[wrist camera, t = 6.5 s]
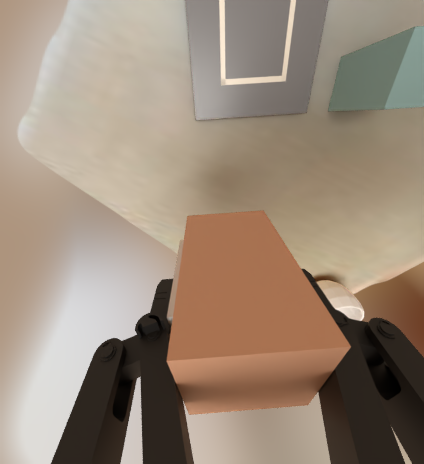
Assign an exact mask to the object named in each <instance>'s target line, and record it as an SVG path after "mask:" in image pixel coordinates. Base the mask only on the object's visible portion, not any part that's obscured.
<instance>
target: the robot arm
mask: <svg viewBox="0 0 424 464" xmlns="http://www.w3.org/2000/svg"><path fill="white" fill-rule="evenodd" d="M183 244H184V240H180V244H179V250H178V255H177V261H176V267H175V273H174V278H173V279H165V280H161V282H160V283H159V284H158V286H157V289H156V293H155V297H154V300H153V304H152V308H151V312H150V313H148V314H146V315H144V316H143V317H142V318H140V319H139V320H138V322H137V324H136V327H135V331H136V333H137V335H135V336H133V337H131V338H128V339H126V340H123V341H121V340H119V339H117V338H112V339H109V340H107V341H105V342H104V343H102V344H101V345H100V346H99V347H98V349H97V350H96V352H95V354H94V356H93V358H92V361H91V363H90V366H89V368H88V371H87V374H86V376H85V379H84V381H83V384H82V386H81V389H80V391H79V394H78V396H77V399H76V401H75V404H74V407H73V409H72V412H71V414H70V417H69V419H68V422H67V425H66V427H65V429H64V432H63V435H62V437H61V440H60V442H59V445H58V448H57V450H56V452H55V455H54V457H53V460H52V463H51V464H120V462H121V457H122V452H123V447H124V442H125V437H126V431H127V426H128V421H129V416H130V411H131V405H132V400H133V395H134V390H135V385H136V380H137V378H138V377H140V376H141V408H142V444H143V464H194V461H193V456H192V450H191V444H190V439H189V433H188V428H187V422H186V416H185V410H184V404H183V399H182V396H181V394H180V391H179V389H178V387H177V384H176V382H175V380H174V377H173V375H172V373H171V370H170V368H169V366H168V363H167V355H168V348H169V341H170V334H171V327H172V320H173V313H174V306H175V299H176V292H177V285H178V278H179V271H180V264H181V257H182V250H183ZM301 270H302V271H303V273H304V274H305V276H306V277H307V279H308V281H309V282H310V284H311V285H312V287H313V288H314V290H315V291H316V293H317V295H318V296H319V298H320V299H321V301H322V302H323V304H324V305H325V307H326V309H327V310H328V312H329V313H330V315H331V316H332V318H333V319H334V321H335V323H336V324H337V326H338V327H339V329H340V330H341V332H342V333H343V335H344V336H345V338H346V340H347V341H348V343H349V344H350V346H351V348H350V349H349V350H348V352H347V353H346V354H345V356H344V357H343V358H342V360H341V361H340V362H339V364H338V365H337V367H336V368H335V369H334V371H333V372H332V373H331V375H330V376H329V377H328V379H327V380H326V381H325V383H324V384H323V385H322V387H321V388H320V390H319V391H318V392H319V398H320V403H321V409H322V415H323V421H324V426H325V432H326V438H327V444H328V450H329V455H330V461H331V464H405V462H404V459H403V456H402V454H401V451H400V449H399V446H398V443H397V441H396V438H395V436H394V433H393V430H394V432H395V434H396V435H397V437H398V439H399V441H400V443H401V444H402V446H403V448H404V449H405V451H406V453H407V454H408V457H409V458H410V460H411V462H412V464H424V358H423V356H422V355H421V354H420V353H419V352H418V350H417V349H416V348H415V347H414V346H413V345H412V343H411V342H410V341H409V340H408V339H407V338H406V336H405V335H404V334H403V333H402V332H401V330H399V329H398V328H397V327H396V326H395V325H394V324H392V323H390V322H389V321H387V320H384V319H382V318H373V319H371V320H370V321H369V322H363V321H359V320H354V319H350V318H348V317H347V316H346V315H345V314H344V313H342V312H340V311H339V310H336V309H335V308H334V307H333V306H332V304H331V303H330V301H329V300H328V298H327V297H326V296H325V294H324V293H323V291H322V290H321V288H320V287H319V285H318V284H317V282H315V279H314V278H313V277H312V275H311V274H310V273H309V272H307V271H306V270H305V269H301ZM391 427H392V428H393V430H392V428H391Z"/></svg>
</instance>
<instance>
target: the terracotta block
mask: <svg viewBox="0 0 424 464" xmlns="http://www.w3.org/2000/svg"><path fill="white" fill-rule="evenodd" d="M350 348H351V346H350V344H349V343H348V341H347V340H346V338H345V336H344V335H343V333H342V332H341V330H340V329H339V327H338V326H337V324H336V323H335V321H334V319H333V318H332V316H331V315H330V313H329V312H328V310H327V309H326V307H325V305H324V304H323V302H322V301H321V299H320V298H319V296H318V295H317V293H316V291H315V290H314V288H313V287H312V285H311V284H310V282H309V281H308V279H307V277H306V276H305V274H304V273H303V271H302V270H301V268H300V267H299V265H298V263H297V262H296V260H295V259H294V257H293V256H292V254H291V253H290V251H289V249H288V248H287V246H286V245H285V243H284V242H283V240H282V239H281V237H280V236H279V234H278V232H277V231H276V229H275V228H274V226H273V225H272V223H271V222H270V220H269V218H268V217H267V215H266V214H265V212H264V211H250V212H236V213H222V214H207V215H193V216H187V223H186V230H185V237H184V244H183V250H182V257H181V264H180V271H179V278H178V285H177V292H176V299H175V306H174V313H173V320H172V327H171V334H170V341H169V348H168V355H167V363H168V366H169V368H170V370H171V373H172V375H173V377H174V380H175V382H176V384H177V387H178V389H179V391H180V394H181V396H182V399H183V401H184V403H185V406H186V408H187V410H188V413H189V414H190V415H191V414H205V413H217V412H230V411H242V410H254V409H267V408H279V407H292V406H304V405H308V404H309V403H310V402H311V400H312V399H313V398H314V396H315V395H316V394H317V392H318V391H319V390H320V388H321V387H322V385H323V384H324V383H325V381H326V380H327V379H328V377H329V376H330V375H331V373H332V372H333V371H334V369H335V368H336V367H337V365H338V364H339V362H340V361H341V360H342V358H343V357H344V356H345V354H346V353H347V352H348V350H349V349H350Z"/></svg>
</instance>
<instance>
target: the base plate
mask: <svg viewBox="0 0 424 464" xmlns="http://www.w3.org/2000/svg"><path fill="white" fill-rule="evenodd" d="M185 1H186V12H187V24H188V35H189V46H190V58H191V69H192V81H193V92H194V104H195V115H196V120H205V119H221V118H236V117H251V116H266V115H282V114H297V113H307V109H308V104H309V99H310V94H311V88H312V83H313V78H314V73H315V68H316V62H317V57H318V52H319V47H320V42H321V36H322V31H323V26H324V21H325V16H326V10H327V5H328V0H185Z"/></svg>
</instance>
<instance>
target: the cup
mask: <svg viewBox="0 0 424 464" xmlns="http://www.w3.org/2000/svg"><path fill="white" fill-rule="evenodd" d="M316 282H317V284H318V285H319V287H320V288H321V290H322V291H323V293H324V294H325V296H326V297H327V298H328V300H329V301H330V303H331V304H332V306H333V307H334V308H335V309H336V310H339V311H340V312H342V313H344V314H345V315H346V316H347V317H348V318H350V319H354V320H359V321H361V320H362V319H363V318H364V310H363V308H362V306H361V304H360V302H359V301H358V300H357V299H356V298H355V296H354V295H353V294H352V293H351V292H350V291H349V290H348V289H347V288H346V287H344V286H343V285H341V284H340V283H336V282H333V281H329V280H321V281H316Z"/></svg>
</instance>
